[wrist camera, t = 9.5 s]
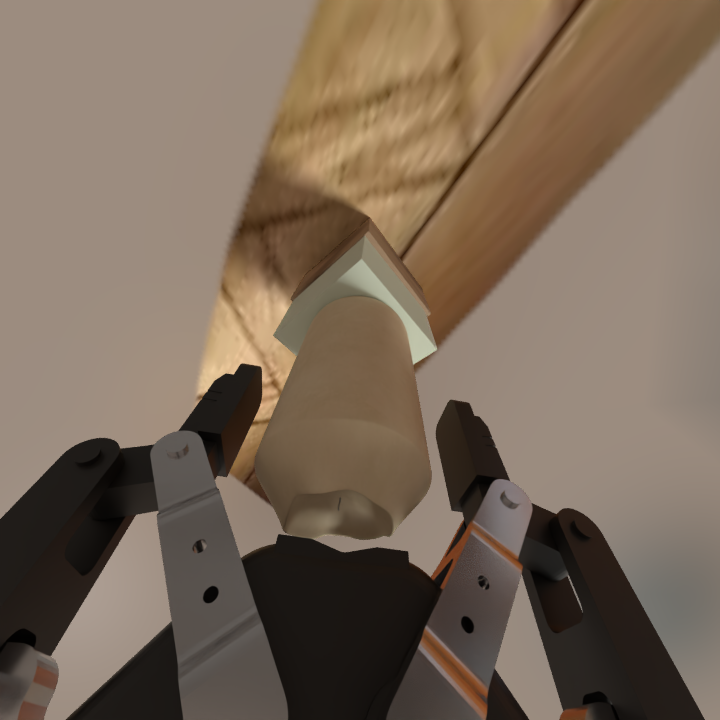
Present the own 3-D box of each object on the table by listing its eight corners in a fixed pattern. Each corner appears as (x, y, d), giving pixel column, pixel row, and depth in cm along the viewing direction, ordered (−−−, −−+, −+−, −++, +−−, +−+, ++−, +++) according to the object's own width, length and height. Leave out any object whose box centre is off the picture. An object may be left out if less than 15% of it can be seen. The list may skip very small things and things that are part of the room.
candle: (322, 385, 18) (276, 572, 10) (295, 302, 15) (195, 474, 7) (412, 374, 17) (443, 569, 9) (402, 285, 14) (435, 456, 6)
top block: (364, 235, 18) (361, 258, 14) (424, 311, 20) (437, 349, 16) (293, 299, 20) (273, 335, 16) (355, 359, 23) (350, 403, 19)
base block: (370, 217, 22) (368, 230, 18) (421, 287, 25) (430, 313, 20) (304, 275, 24) (290, 299, 20) (358, 332, 27) (355, 363, 23)
